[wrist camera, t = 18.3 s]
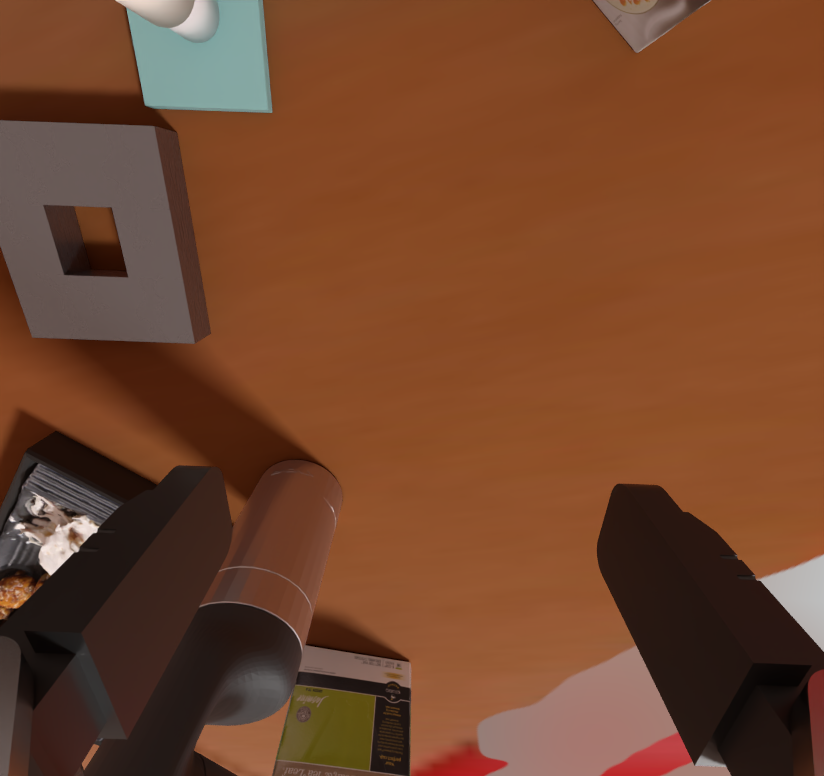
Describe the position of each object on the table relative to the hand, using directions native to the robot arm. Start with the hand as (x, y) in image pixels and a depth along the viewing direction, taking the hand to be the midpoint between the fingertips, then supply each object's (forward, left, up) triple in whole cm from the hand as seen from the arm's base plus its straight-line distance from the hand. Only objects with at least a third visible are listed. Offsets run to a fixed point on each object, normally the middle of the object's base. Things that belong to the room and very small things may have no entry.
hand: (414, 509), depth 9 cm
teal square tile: (+16, +16, -30) cm, 38 cm away
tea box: (-55, +7, -30) cm, 63 cm away
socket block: (+2, +26, -30) cm, 40 cm away
